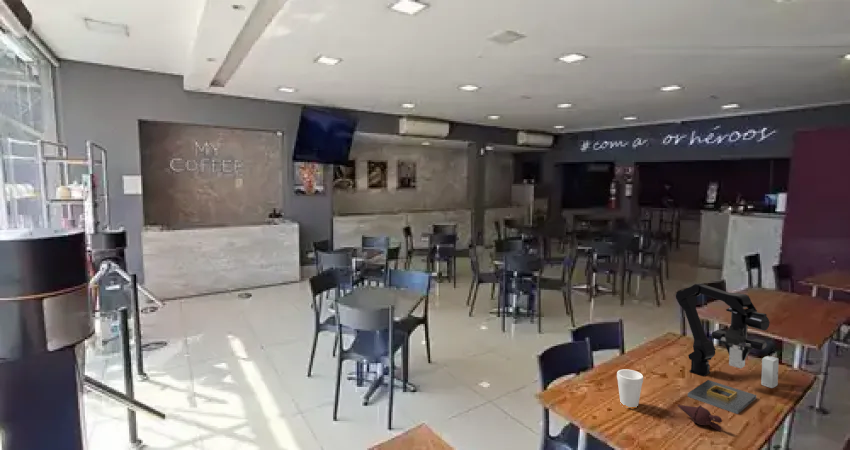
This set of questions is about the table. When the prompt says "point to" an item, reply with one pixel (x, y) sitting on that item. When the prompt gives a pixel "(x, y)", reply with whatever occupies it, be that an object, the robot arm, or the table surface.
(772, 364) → the skincare box
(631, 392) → the foam cup
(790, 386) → the table surface
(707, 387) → the grey peg insertion board
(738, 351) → the brushed metal block
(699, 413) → the icecream
